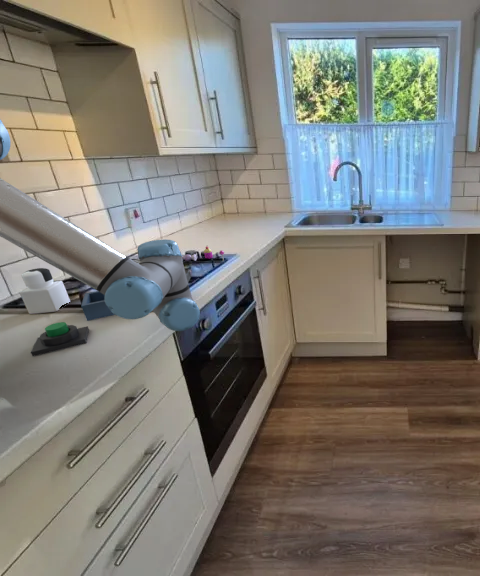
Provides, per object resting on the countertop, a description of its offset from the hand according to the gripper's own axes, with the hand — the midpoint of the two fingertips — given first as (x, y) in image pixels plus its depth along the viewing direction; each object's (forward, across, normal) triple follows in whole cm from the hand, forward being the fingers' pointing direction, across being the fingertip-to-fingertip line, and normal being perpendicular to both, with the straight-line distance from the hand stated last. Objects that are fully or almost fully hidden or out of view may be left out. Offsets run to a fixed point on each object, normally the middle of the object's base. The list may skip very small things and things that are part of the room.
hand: (143, 275), depth 102 cm
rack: (+7, -4, -10) cm, 13 cm away
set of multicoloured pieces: (+36, +29, -10) cm, 47 cm away
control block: (-6, -21, -10) cm, 24 cm away
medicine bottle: (+22, -22, -10) cm, 33 cm away
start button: (-6, -21, -7) cm, 23 cm away
